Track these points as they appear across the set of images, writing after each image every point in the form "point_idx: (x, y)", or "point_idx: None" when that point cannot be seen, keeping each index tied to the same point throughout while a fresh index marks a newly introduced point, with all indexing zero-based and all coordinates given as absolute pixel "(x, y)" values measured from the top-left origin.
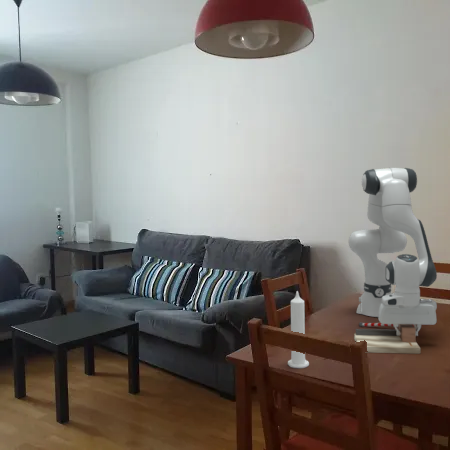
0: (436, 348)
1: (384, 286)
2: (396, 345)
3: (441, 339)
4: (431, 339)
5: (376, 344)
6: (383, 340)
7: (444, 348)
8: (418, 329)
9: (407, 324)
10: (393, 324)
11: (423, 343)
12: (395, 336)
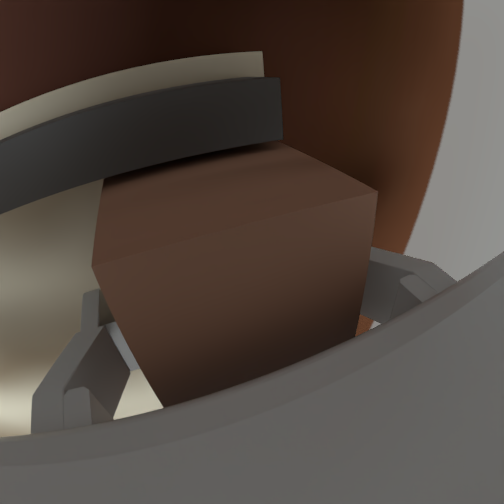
0: (375, 244)
1: None
2: (132, 412)
3: (444, 52)
4: (401, 46)
5: (17, 427)
6: (9, 359)
7: (409, 229)
8: (375, 311)
9: (290, 296)
10: (48, 431)
11: (332, 155)
12: (67, 196)
